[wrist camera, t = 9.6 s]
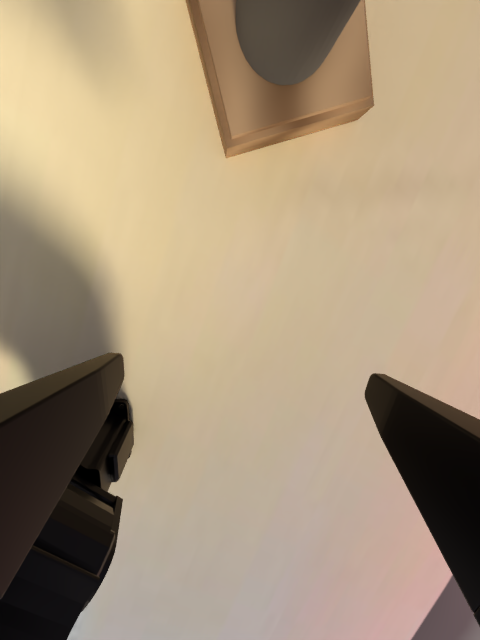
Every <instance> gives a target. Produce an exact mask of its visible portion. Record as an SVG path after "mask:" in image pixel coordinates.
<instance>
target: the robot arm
mask: <svg viewBox="0 0 480 640" xmlns="http://www.w3.org/2000/svg"><path fill="white" fill-rule="evenodd" d="M123 380H124V363H123V356H122V354H119V353H107V354H105V355H102V356H99V357H97V358H94V359H91V360H89V361H86V362H83V363H81V364H78V365H75V366H73V367H70V368H67V369H65V370H62V371H59V372H57V373H54V374H51V375H49V376H46V377H43V378H41V379H38V380H35V381H33V382H30V383H27V384H25V385H22V386H19V387H17V388H14V389H12V390H9V391H6V392H4V393H1V394H0V640H67V638H68V636H69V634H70V631H71V629H72V627H73V626H74V624H75V622H76V620H77V618H78V616H79V614H80V613H81V612H82V611H83V610H84V608H85V607H86V606H87V605H88V603H89V602H90V601H91V599H92V598H93V596H94V595H95V593H96V592H97V590H98V588H99V586H100V585H101V583H102V581H103V579H104V577H105V575H106V573H107V571H108V569H109V566H110V564H111V561H112V559H113V556H114V553H115V548H116V543H117V536H118V529H119V522H120V515H121V509H122V502H123V499H122V498H120V497H118V496H116V497H115V496H114V495H112V494H110V493H108V492H107V491H108V489H109V487H110V485H111V482H117V481H118V480H119V479H120V476H121V474H122V471H123V469H124V467H125V464H126V462H127V459H128V458H129V457H130V455H131V452H132V451H131V449H132V447H133V445H134V436H133V423H132V421H130V417H129V403H128V401H126V400H124V399H115V398H116V396H117V394H118V391H119V389H120V387H121V385H122V382H123ZM365 399H366V402H367V404H368V407H369V409H370V412H371V414H372V417H373V419H374V422H375V424H376V427H377V429H378V431H379V434H380V436H381V438H382V440H383V442H384V444H385V446H386V448H387V450H388V452H389V454H390V456H391V457H392V459H393V461H394V463H395V465H396V467H397V469H398V471H399V473H400V475H401V477H402V478H403V480H404V482H405V484H406V486H407V488H408V490H409V492H410V494H411V496H412V498H413V500H414V501H415V503H416V505H417V507H418V509H419V511H420V513H421V515H422V517H423V519H424V521H425V522H426V524H427V526H428V528H429V530H430V532H431V534H432V536H433V538H434V540H435V542H436V543H437V545H438V547H439V549H440V551H441V553H442V555H443V557H444V559H445V561H446V563H447V565H448V566H449V568H450V570H451V572H452V574H453V576H454V578H455V580H456V582H457V584H458V586H459V587H460V589H461V591H462V593H463V595H464V597H465V599H466V601H467V603H468V605H469V606H470V608H471V610H472V612H474V617H475V619H476V620H477V622H478V624H479V626H480V420H479V419H477V418H475V417H473V416H471V415H469V414H467V413H465V412H463V411H460V410H458V409H456V408H454V407H452V406H450V405H448V404H446V403H444V402H442V401H439V400H437V399H435V398H433V397H431V396H429V395H427V394H425V393H423V392H421V391H418V390H416V389H414V388H412V387H410V386H408V385H406V384H404V383H402V382H400V381H397V380H395V379H393V378H391V377H389V376H387V375H385V374H376V373H374V374H372V375H371V376H370V378H369V381H368V384H367V387H366V390H365ZM120 404H122V405H124V406H121V405H120Z"/></svg>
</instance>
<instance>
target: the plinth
mask: <svg viewBox="0 0 480 640" xmlns="http://www.w3.org/2000/svg"><path fill="white" fill-rule="evenodd" d="M186 3H187V7H188V11H189V15H190V19H191V23H192V27H193V31H194V35H195V39H196V43H197V47H198V50H199V54H200V58H201V62H202V66H203V70H204V74H205V78H206V82H207V86H208V90H209V93H210V97H211V101H212V105H213V109H214V113H215V117H216V121H217V125H218V129H219V133H220V136H221V140H222V144H223V148H224V152H225V156H226V158H228V157H231V156H235V155H238V154H242V153H245V152H249V151H252V150H255V149H259V148H262V147H266V146H269V145H273V144H276V143H280V142H283V141H286V140H290V139H293V138H297V137H300V136H304V135H307V134H310V133H314V132H317V131H321V130H324V129H328V128H331V127H334V126H338V125H341V124H345V123H348V122H352V121H355V120H358V119H359V118H360V117H361V116H362V115H364V114H365V113H366V112H367V111H368V110H369V109H370V108H372V107H373V106H374V101H373V89H372V78H371V66H370V55H369V43H368V32H367V20H366V9H365V0H361V1H360V2H359V4H358V6H357V7H356V9H355V11H354V12H353V14H352V16H351V17H350V19H349V21H348V22H347V24H346V26H345V27H344V29H343V31H342V32H341V34H340V36H339V37H338V39H337V41H336V42H335V44H334V46H333V48H332V49H331V51H330V52H329V54H328V55H327V57H326V59H325V60H324V62H323V63H322V64H321V66H320V67H319V68H318V69H317V70H316V71H315V72H314V73H313V74H312V75H311V76H309V77H308V78H307V79H305V80H304V81H302V82H299V83H297V84H293V85H277V84H274V83H271V82H269V81H267V80H265V79H263V78H262V77H261V76H259V75H258V74H257V73H256V72H255V71H254V70H253V69H252V67H251V66H250V65H249V63H248V62H247V60H246V59H245V56H244V54H243V52H242V50H241V47H240V44H239V40H238V37H237V32H236V0H186Z"/></svg>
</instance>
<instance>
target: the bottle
mask: <svg viewBox="0 0 480 640" xmlns="http://www.w3.org/2000/svg"><path fill="white" fill-rule="evenodd" d="M360 1H361V0H236V32H237V37H238V40H239V44H240V47H241V50H242V52H243V54H244V56H245V59H246V60H247V62H248V63H249V65H250V66H251V67H252V69H253V70H254V71H255V72H256V73H257V74H258V75H259V76H261V77H262V78H263V79H265V80H267V81H269V82H271V83H274V84H277V85H293V84H297V83H299V82H302V81H304V80H305V79H307V78H308V77H309V76H311V75H312V74H313V73H314V72H315V71H316V70H317V69H318V68H319V67H320V66H321V64H322V63H323V62H324V60H325V59H326V57H327V55H328V54H329V52H330V51H331V49H332V48H333V46H334V44H335V42H336V41H337V39H338V37H339V36H340V34H341V32H342V31H343V29H344V27H345V26H346V24H347V22H348V21H349V19H350V17H351V16H352V14H353V12H354V11H355V9H356V7H357V6H358V4H359V2H360Z"/></svg>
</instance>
